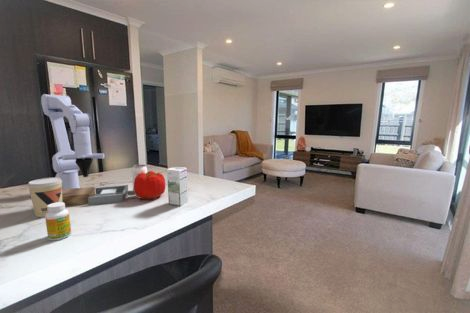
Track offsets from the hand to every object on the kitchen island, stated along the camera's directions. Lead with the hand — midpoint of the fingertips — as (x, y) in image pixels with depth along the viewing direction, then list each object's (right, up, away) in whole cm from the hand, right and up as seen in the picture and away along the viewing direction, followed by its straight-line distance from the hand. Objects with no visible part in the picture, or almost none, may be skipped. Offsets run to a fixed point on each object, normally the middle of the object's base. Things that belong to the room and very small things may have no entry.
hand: (86, 176), depth 96 cm
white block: (+8, -7, +3) cm, 11 cm away
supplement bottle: (+11, -15, -28) cm, 34 cm away
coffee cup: (-5, -12, -12) cm, 18 cm away
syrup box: (+39, -11, -2) cm, 40 cm away
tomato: (+25, -10, +5) cm, 27 cm away
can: (+17, -8, +13) cm, 23 cm away
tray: (+8, -9, +4) cm, 13 cm away
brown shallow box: (-4, -10, -1) cm, 11 cm away
